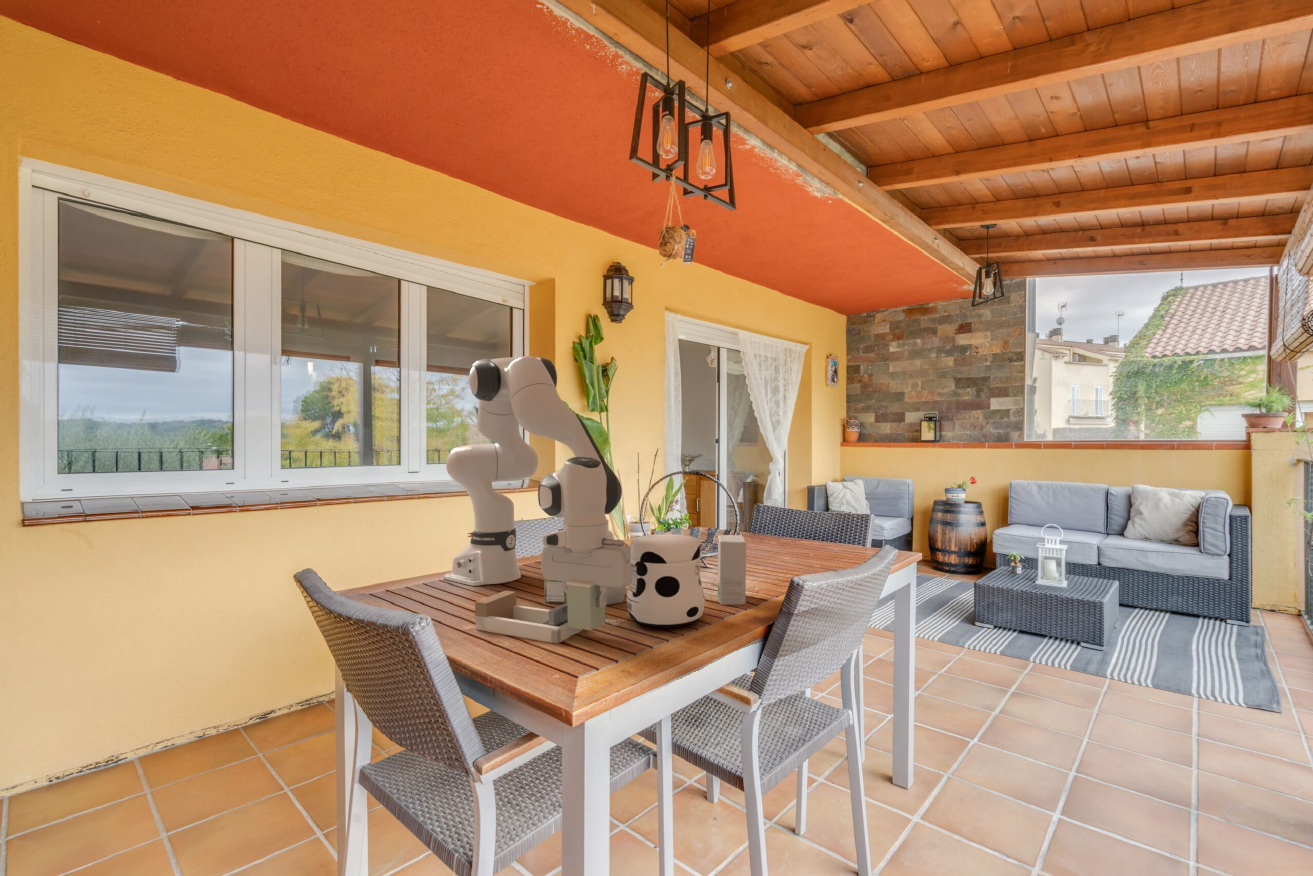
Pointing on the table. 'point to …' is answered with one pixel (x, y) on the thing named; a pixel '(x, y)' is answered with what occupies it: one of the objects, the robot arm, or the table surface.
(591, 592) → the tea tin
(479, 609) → the frame
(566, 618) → the block
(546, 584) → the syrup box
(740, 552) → the skincare box
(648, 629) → the table surface
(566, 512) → the robot arm
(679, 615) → the milk container
